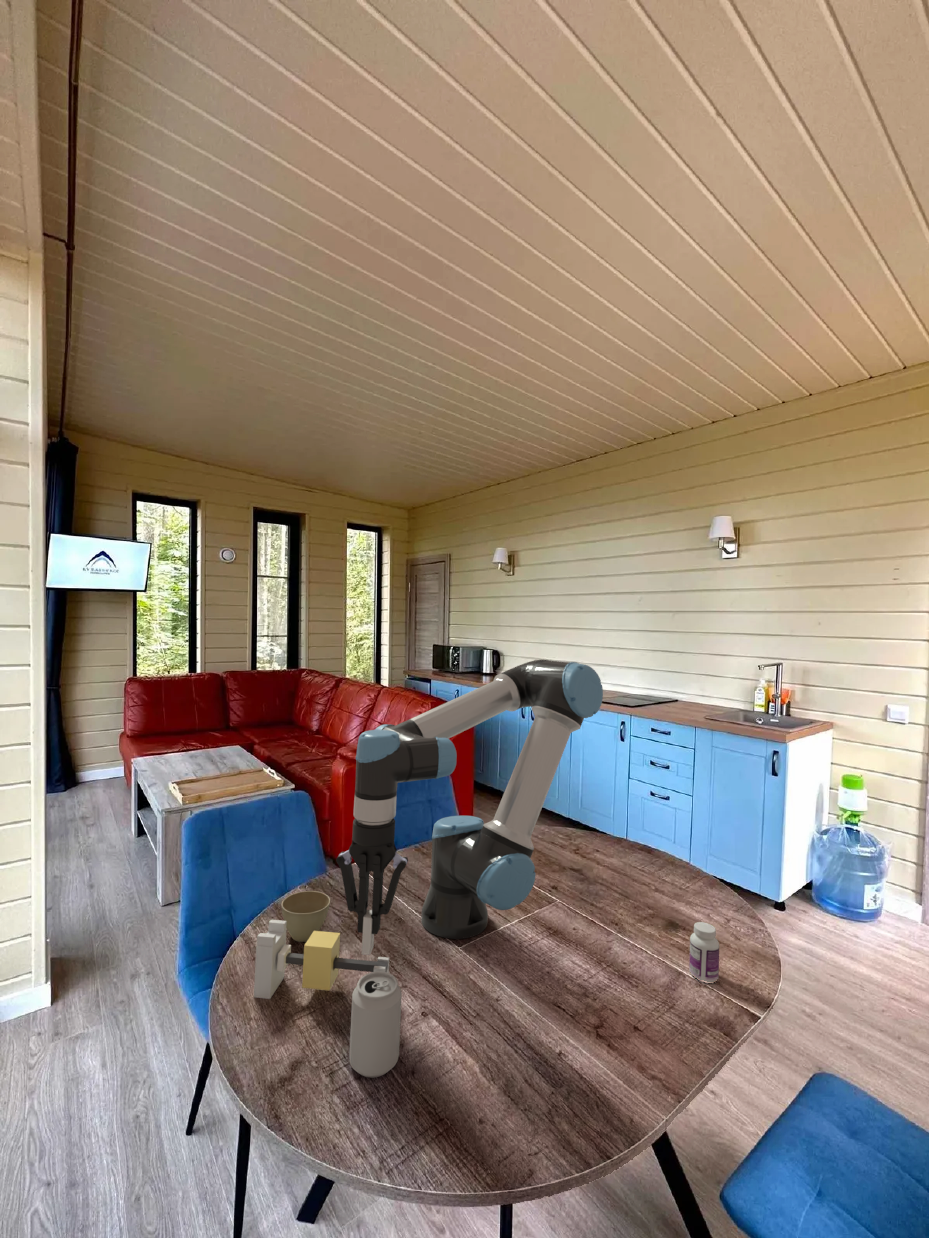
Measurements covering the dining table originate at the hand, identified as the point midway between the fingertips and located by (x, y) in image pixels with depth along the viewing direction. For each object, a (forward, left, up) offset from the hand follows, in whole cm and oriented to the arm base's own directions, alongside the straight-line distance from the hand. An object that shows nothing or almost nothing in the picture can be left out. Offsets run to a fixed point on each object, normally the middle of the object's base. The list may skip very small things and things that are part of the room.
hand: (367, 950), depth 98 cm
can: (-5, +14, -9) cm, 17 cm away
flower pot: (+18, -17, -9) cm, 26 cm away
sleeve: (+8, 0, -6) cm, 11 cm away
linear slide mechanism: (+8, 0, -8) cm, 12 cm away
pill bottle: (-64, -16, -9) cm, 67 cm away
